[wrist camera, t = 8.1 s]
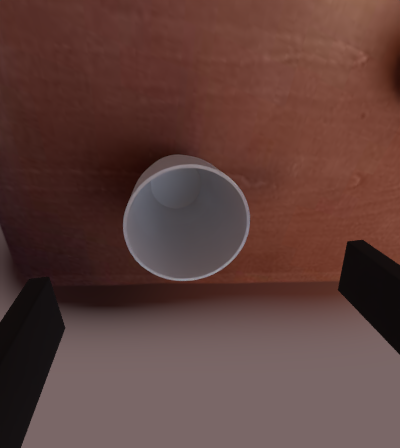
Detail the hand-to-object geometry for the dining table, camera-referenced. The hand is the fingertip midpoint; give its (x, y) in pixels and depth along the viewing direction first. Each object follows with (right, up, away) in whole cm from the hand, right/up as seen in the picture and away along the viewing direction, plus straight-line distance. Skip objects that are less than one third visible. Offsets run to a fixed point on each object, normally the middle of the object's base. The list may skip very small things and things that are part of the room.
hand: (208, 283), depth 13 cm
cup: (-3, +7, +15) cm, 16 cm away
